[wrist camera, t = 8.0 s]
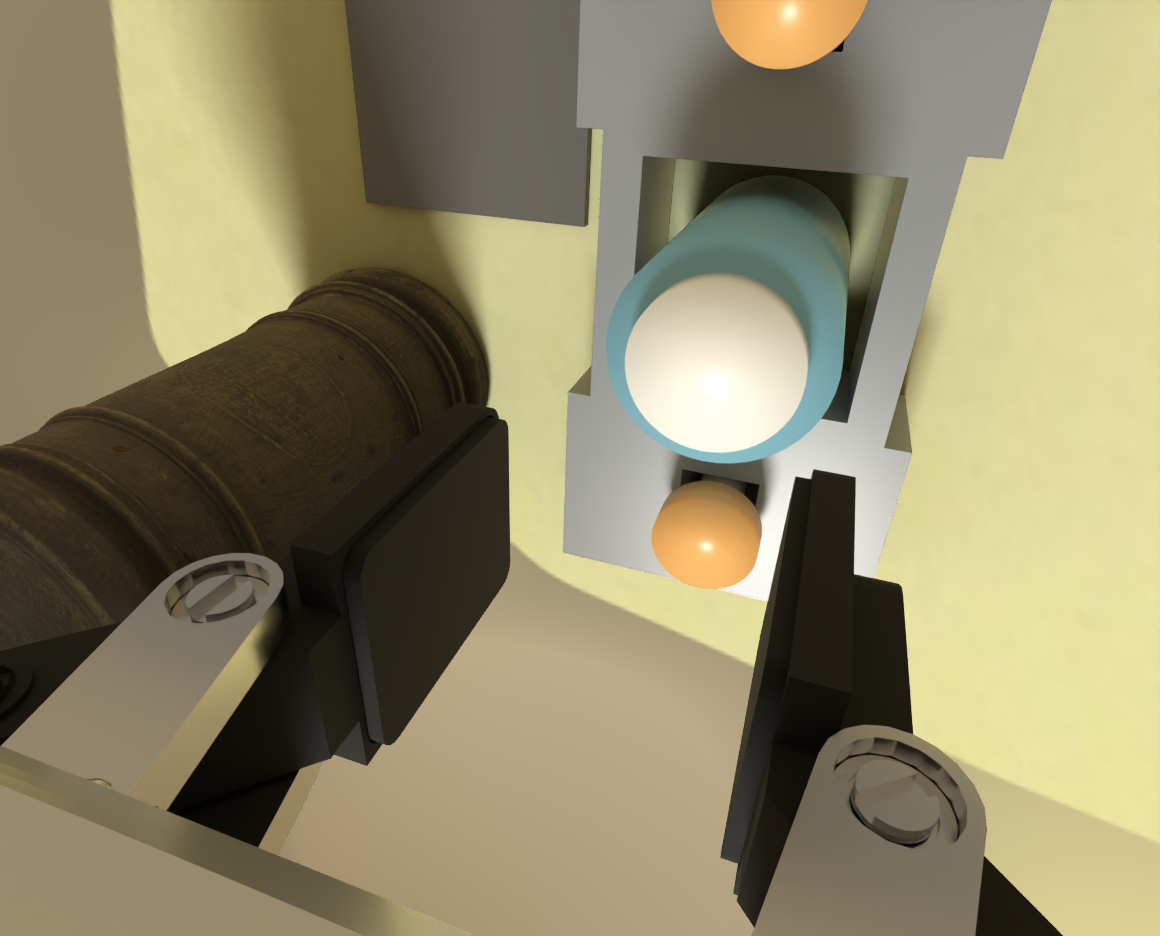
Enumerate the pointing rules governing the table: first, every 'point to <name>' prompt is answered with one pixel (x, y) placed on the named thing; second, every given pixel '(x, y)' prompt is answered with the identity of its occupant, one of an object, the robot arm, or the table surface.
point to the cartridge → (736, 324)
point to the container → (224, 449)
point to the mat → (471, 106)
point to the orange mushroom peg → (708, 533)
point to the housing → (790, 140)
